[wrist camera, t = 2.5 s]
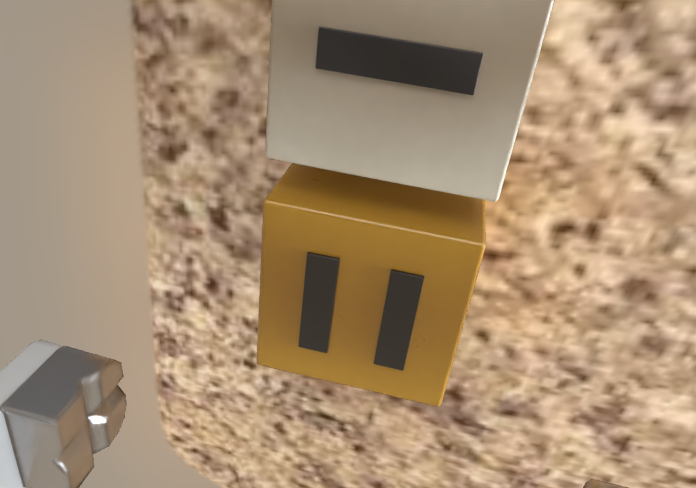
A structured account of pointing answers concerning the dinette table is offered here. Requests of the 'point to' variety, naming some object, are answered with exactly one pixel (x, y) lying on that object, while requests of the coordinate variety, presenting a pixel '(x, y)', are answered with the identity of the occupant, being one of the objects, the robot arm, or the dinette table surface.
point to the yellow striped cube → (366, 281)
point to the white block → (403, 88)
